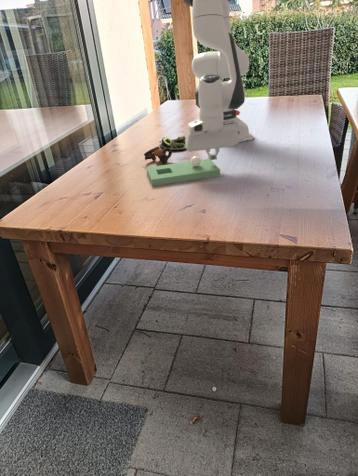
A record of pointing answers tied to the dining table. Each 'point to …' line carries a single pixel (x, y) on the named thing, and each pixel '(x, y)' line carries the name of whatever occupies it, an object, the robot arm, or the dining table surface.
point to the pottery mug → (159, 155)
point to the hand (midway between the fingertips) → (212, 159)
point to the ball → (195, 161)
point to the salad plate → (173, 144)
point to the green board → (181, 172)
